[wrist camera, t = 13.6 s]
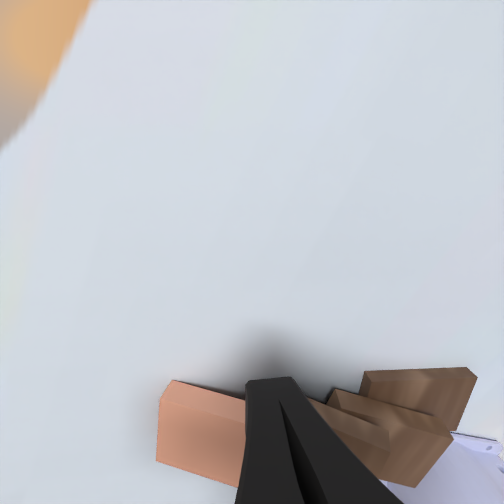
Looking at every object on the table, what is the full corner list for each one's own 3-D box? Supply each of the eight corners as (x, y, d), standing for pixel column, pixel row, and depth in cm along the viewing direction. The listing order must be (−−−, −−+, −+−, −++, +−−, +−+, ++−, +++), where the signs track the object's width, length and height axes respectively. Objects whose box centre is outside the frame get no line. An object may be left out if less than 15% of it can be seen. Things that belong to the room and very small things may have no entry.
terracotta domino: (172, 379, 20) (300, 416, 19) (167, 439, 22) (284, 476, 21) (160, 398, 19) (297, 439, 18) (156, 460, 21) (281, 502, 19)
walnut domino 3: (335, 388, 22) (440, 418, 23) (305, 440, 23) (405, 465, 24) (341, 408, 20) (454, 439, 21) (309, 461, 22) (415, 488, 23)
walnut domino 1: (262, 378, 21) (388, 430, 20) (246, 436, 23) (361, 488, 21) (255, 394, 20) (390, 452, 18) (238, 454, 22) (361, 513, 20)
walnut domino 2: (360, 365, 23) (460, 362, 24) (347, 419, 25) (441, 413, 26) (371, 381, 22) (477, 377, 23) (356, 437, 23) (456, 430, 25)
